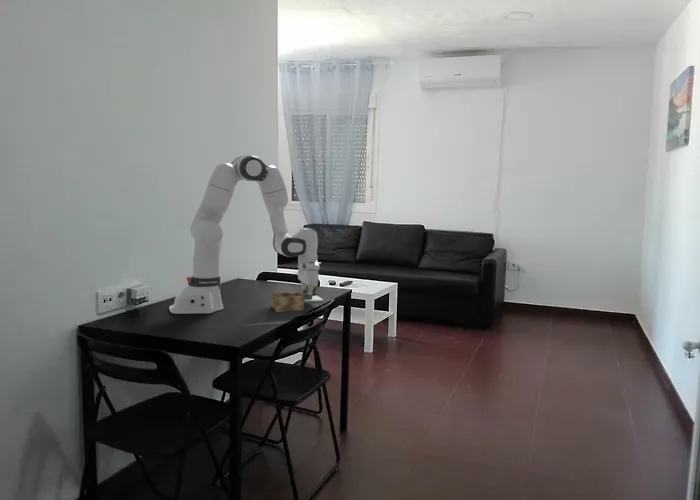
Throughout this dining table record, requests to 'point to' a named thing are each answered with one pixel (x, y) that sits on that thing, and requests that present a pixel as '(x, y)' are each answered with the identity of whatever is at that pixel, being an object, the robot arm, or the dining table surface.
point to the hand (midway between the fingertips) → (307, 292)
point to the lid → (311, 298)
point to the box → (287, 301)
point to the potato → (308, 288)
